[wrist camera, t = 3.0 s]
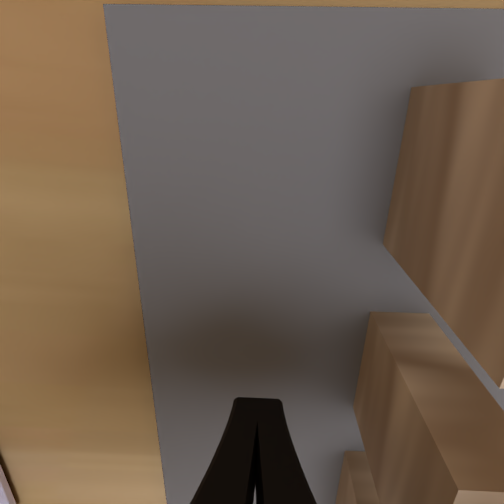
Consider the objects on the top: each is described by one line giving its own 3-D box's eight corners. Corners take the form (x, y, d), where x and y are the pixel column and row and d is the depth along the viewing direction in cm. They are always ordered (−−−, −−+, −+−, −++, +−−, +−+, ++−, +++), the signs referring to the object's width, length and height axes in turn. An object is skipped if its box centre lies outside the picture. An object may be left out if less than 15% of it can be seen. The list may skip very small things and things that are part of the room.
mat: (172, 514, 18) (170, 527, 17) (113, 10, 9) (102, 3, 9) (485, 531, 18) (492, 545, 17) (735, 17, 9) (767, 11, 8)
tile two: (353, 407, 14) (412, 619, 8) (370, 311, 12) (463, 498, 6) (407, 409, 14) (505, 625, 8) (433, 313, 12) (583, 504, 6)
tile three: (382, 244, 11) (505, 395, 5) (411, 87, 9) (642, 64, 4) (451, 246, 11) (649, 402, 5) (494, 88, 9) (863, 68, 3)
